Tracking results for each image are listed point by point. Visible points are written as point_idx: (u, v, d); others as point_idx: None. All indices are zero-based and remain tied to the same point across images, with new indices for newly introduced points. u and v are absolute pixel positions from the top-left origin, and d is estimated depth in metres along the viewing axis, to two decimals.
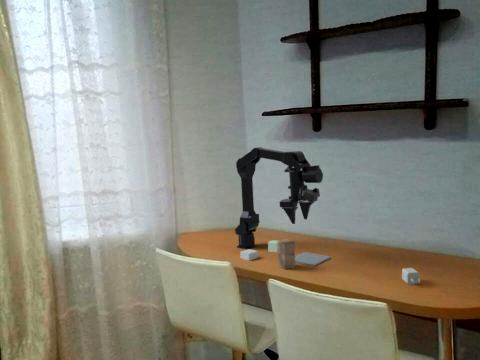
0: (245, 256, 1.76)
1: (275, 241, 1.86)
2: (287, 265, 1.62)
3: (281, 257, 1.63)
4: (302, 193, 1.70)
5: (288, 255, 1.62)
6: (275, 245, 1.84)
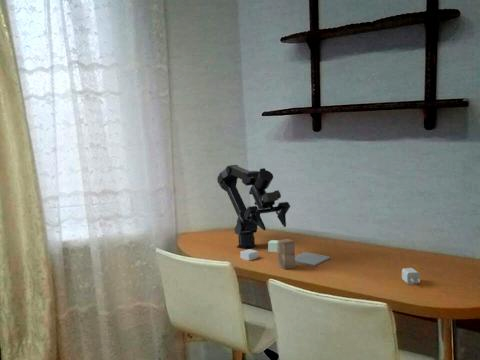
0: (245, 256, 1.76)
1: (275, 241, 1.86)
2: (287, 265, 1.62)
3: (281, 257, 1.63)
4: (261, 199, 1.73)
5: (288, 255, 1.62)
6: (275, 245, 1.84)
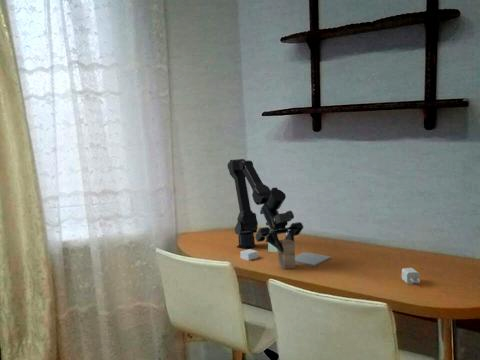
0: (245, 256, 1.76)
1: None
2: (287, 265, 1.62)
3: (281, 257, 1.63)
4: (273, 219, 1.65)
5: (288, 255, 1.62)
6: None
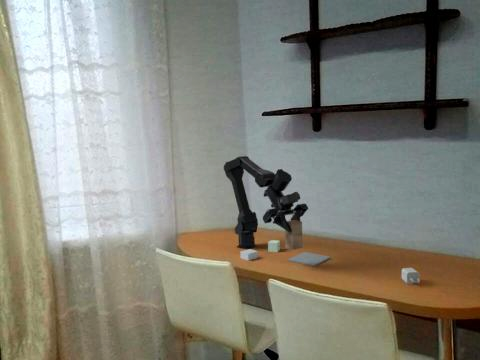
0: (244, 256, 1.76)
1: (275, 241, 1.86)
2: (295, 245, 1.63)
3: (289, 238, 1.64)
4: (280, 201, 1.66)
5: (296, 235, 1.63)
6: (275, 245, 1.84)
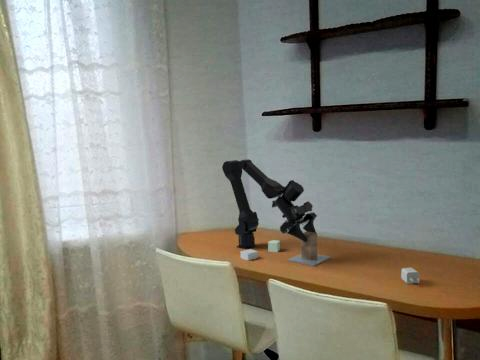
0: (244, 256, 1.76)
1: (275, 241, 1.86)
2: (312, 256, 1.70)
3: (306, 249, 1.70)
4: (295, 211, 1.71)
5: (313, 246, 1.70)
6: (275, 245, 1.84)
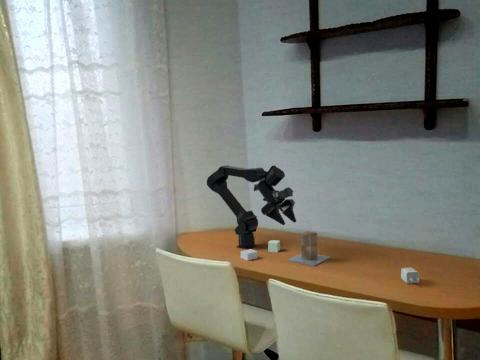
0: (244, 256, 1.76)
1: (275, 241, 1.86)
2: (312, 256, 1.70)
3: (306, 249, 1.70)
4: (276, 195, 1.77)
5: (313, 246, 1.70)
6: (275, 245, 1.84)
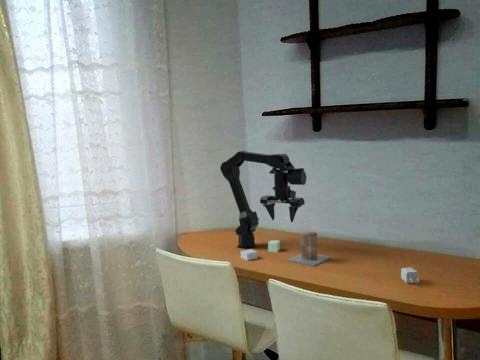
0: (244, 256, 1.76)
1: (275, 241, 1.86)
2: (312, 256, 1.70)
3: (306, 249, 1.70)
4: (291, 192, 1.84)
5: (313, 246, 1.70)
6: (275, 245, 1.84)
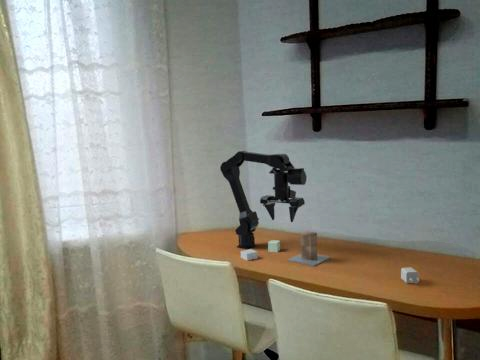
0: (244, 256, 1.76)
1: (275, 241, 1.86)
2: (312, 256, 1.70)
3: (306, 249, 1.70)
4: (291, 192, 1.84)
5: (313, 246, 1.70)
6: (275, 245, 1.84)
